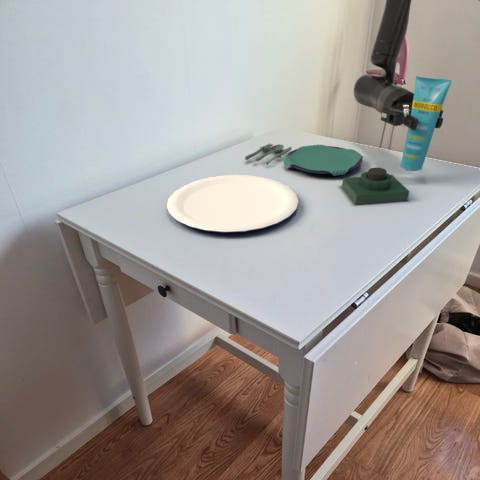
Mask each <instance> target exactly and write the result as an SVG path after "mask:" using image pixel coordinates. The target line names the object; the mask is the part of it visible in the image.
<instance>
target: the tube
mask: <svg viewBox="0 0 480 480" xmlns="http://www.w3.org/2000/svg"><path fill="white" fill-rule="evenodd" d="M452 82H453V79H452V78H435V77H427V76H419V75H415V82H414V91H413V93H414V98H413V104H412V110H411V116H413V117H415V118H416V119H418V124H417V128H416V130H411V129H410V128H408V127H407V132H406V137H405V144H404V148H403V154H402V156H401V157H402V158H401V162H400V168H401V169H403V170H405V171H407V172H408V171H409V172H419V171H421V170H423V167H424V163H425V161H426V157H427V155H428V151H429V147H430V145H431V141H432V139H433V135H434V132H435V129H436V128H435V126H436V123H437V120H438V117H439V114H440V111H441V109H442V108H443V105H444V102H445V99H446V97H447V94H448V92H449V89H450V88H451V87H450V86H451V85H452Z"/></svg>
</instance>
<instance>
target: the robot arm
mask: <svg viewBox="0 0 480 480" xmlns="http://www.w3.org/2000/svg"><path fill="white" fill-rule="evenodd" d="M478 1H479V2H480V0H478ZM411 4H412V0H385V4H384V7H383V12H382V15H381V20H380V24H379V28H378V30H377V34H376V37H375V40H374V44H373V47H372V50H371V53H370V58H369V62H370V64H372V65H373V66H375V67H377V68H379V69H381V72H382V73H381V75H375V74H362V75H361V76H359V78H357V80H356V81H355V83H354V86H353V97H354V99H355V101H356V102H357V103H358V104H360V105H362V106H365V107H368V108H372V109H375V110H376V111H377V112H378V113H380V121H382V122H383V123H387V124H389V125H391V126H393V127H398V126H401V127H407V129H408V128H410V129H411V130H416V128H417V124H418V119H416V118H415V117H413V116H411V110H412V104H413V98H414V92H412V91H410V90H408V89H407V88H404V87H403V86H399V85H397V84H395V77H396V68H397V63H398V59H399V56H400V53H401V50H402V47H403V44H404V41H405V38H406V34H407V31H408V26H409V19H410V12H411ZM443 114H444V110H443V109H442V108H441V111H440V114H439V117H438V120H437V123H436V126H435V129H441V127H442V126H443V122H444V118H443Z"/></svg>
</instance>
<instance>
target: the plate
mask: <svg viewBox="0 0 480 480" xmlns="http://www.w3.org/2000/svg"><path fill="white" fill-rule="evenodd" d="M298 206H299V198H298V196H297V193H296V192H295V191H294V190H293V189H292V188H291V187H290V186H288V185H286V184H284V183H283V182H281V181H277V180H275V179H272V178H268V177H264V176H263V177H262V176H258V175H247V174H225V175H224V174H223V175H218V176H209V177H204V178H202V179H197V180H194V181H192V182H189V183H187V184H184V185H183V186H181V187H180V188H178V189H177V190H175V191H173V193H172V194H171V195H170V196H169V198H168V199H167V203H166V209H167V211H168V213H169V216H171V217H172V218H173V219H174V220H175V221H176V222H178V223H180V224H181V225H184V226H186V227H189V228H192V229H195V230H201V231H204V232H212V233H224V234H227V233H228V234H229V233H230V234H231V233H246V232H252V231H257V230H258V231H259V230H263V229H265V228H269V227H272V226H274V225H278V224H279V223H281V222H283V221H286V220H287V219H289V218H290V217H291V216H292V215H293V214H294V213H295V212H296V211H297V208H298Z"/></svg>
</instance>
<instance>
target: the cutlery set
mask: <svg viewBox="0 0 480 480" xmlns="http://www.w3.org/2000/svg"><path fill="white" fill-rule="evenodd" d="M284 147H285V146H284V144H275V145H274V143H268V144H265V145H262V146H260V147H259V149H257V150H256V151H254V152H253V153H250V154H248V155H246V156H244V160H246V161H249V160H250V159H252V158H253V157H256V156H257V155H258V154H260V152H266V151H268V150H269V149H270V151H268V152H266V153H264V154H262V155H260V156H258V157H256V158H255V162H260V161H261V160H262V159H264V158H265V157H266V156H270V154H273V153H276V154H275V155H274V157H273V158H271V159H270V160H268V161H266V162H265V165H266V166H269V164H270V163H271V162H272V161H274V160H276V159H279V158H282V156H283V155H285V156H284V158H283V165H284V167H285V168H286V169H288V166H290V167H292V168H294V169H296V170H298V171H302V172H306V173H311V174H319V175H332V176H334V177H336V176H340V175H341V176H344V175H346V173H348V172H350V171H354V170H355V169H357V168H358V167H360V166H361V165H362V162H363V158H364V156H363V155H362V154H361V153H359V152H358V151H356V150H355V149H351V148H344V147H339V146H333V145H324V144H311V145H303V146H300V147H298V148H296V149H293V150H292V146H289V147H288V148H286V149H285V150H283V149H284ZM282 150H283V151H282ZM279 152H280V153H279Z"/></svg>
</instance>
